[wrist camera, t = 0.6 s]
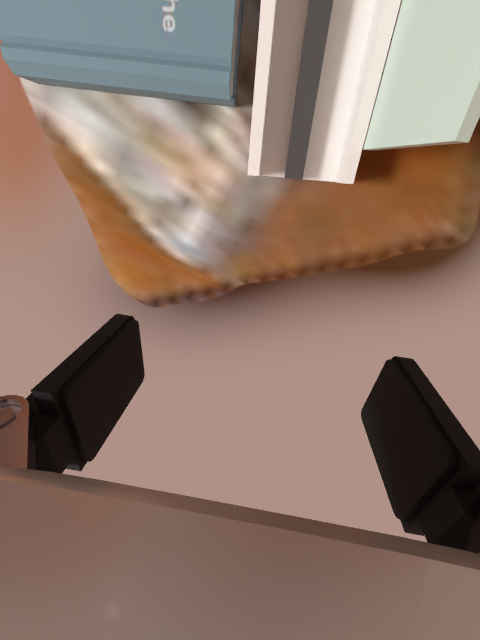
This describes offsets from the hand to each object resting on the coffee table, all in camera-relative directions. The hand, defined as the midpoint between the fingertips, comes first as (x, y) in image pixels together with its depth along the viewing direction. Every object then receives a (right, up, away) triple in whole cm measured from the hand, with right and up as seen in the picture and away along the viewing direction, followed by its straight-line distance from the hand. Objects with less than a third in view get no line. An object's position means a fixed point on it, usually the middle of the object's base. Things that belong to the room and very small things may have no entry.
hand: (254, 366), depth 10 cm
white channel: (+7, +28, +16) cm, 33 cm away
